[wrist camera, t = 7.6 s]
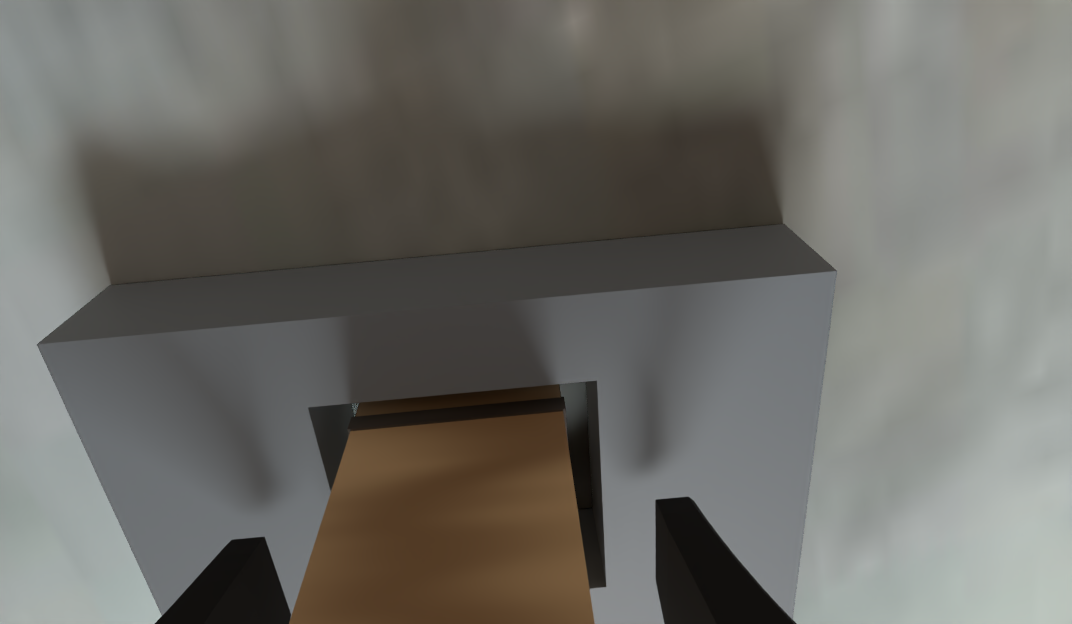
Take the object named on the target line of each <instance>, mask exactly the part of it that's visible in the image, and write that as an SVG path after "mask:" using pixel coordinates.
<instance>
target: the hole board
mask: <svg viewBox="0 0 1072 624" xmlns="http://www.w3.org/2000/svg"><path fill="white" fill-rule="evenodd" d="M836 276H837V270H835V269H834V268H833V267H832V266H831V265H830V264H829V263H828V262H826V261H825V260H824V259H823V258H822V257H821V256H820V255H819V254H817V253H816V252H815V251H814V250H813V249H812V248H811V247H810V246H808V245H807V244H806V243H805V242H804V241H803V240H802V239H800V238H799V237H798V236H797V235H796V234H795V233H794V232H793V231H791V230H790V229H789V228H788V227H787V226H786V225H785V224H779V225H768V226H757V227H746V228H735V229H724V230H713V231H702V232H691V233H680V234H669V235H658V236H647V237H636V238H625V239H614V240H603V241H592V242H581V243H570V244H559V245H548V246H537V247H526V248H515V249H504V250H493V251H482V252H471V253H460V254H449V255H438V256H427V257H416V258H405V259H394V260H383V261H372V262H361V263H350V264H339V265H328V266H318V267H307V268H296V269H285V270H274V271H263V272H252V273H241V274H230V275H219V276H208V277H197V278H186V279H175V280H164V281H153V282H142V283H131V284H120V285H110V286H108V287H107V288H106V289H105V290H103V291H102V292H101V293H100V294H98V295H97V296H96V297H95V298H93V299H92V300H91V301H90V302H89V303H87V304H86V305H85V306H84V307H82V308H81V309H80V310H79V311H77V312H76V313H75V314H74V315H73V316H71V317H70V318H69V319H68V320H66V321H65V322H64V323H63V324H61V325H60V326H59V327H58V328H56V329H55V330H54V331H53V332H52V333H50V334H49V335H48V336H47V337H45V338H44V339H43V340H42V341H40V342H39V343H38V344H37V346H38V348H39V350H40V352H41V355H42V357H43V359H44V361H45V363H46V365H47V368H48V370H49V372H50V374H51V376H52V378H53V381H54V383H55V385H56V387H57V389H58V391H59V394H60V396H61V398H62V400H63V402H64V404H65V407H66V409H67V411H68V413H69V415H70V417H71V420H72V422H73V424H74V426H75V428H76V430H77V433H78V435H79V437H80V439H81V441H82V443H83V446H84V448H85V450H86V452H87V454H88V456H89V459H90V461H91V463H92V465H93V467H94V469H95V472H96V474H97V476H98V478H99V480H100V482H101V485H102V487H103V489H104V491H105V493H106V495H107V498H108V500H109V502H110V504H111V506H112V508H113V511H114V513H115V515H116V517H117V519H118V521H119V524H120V526H121V528H122V530H123V532H124V534H125V537H126V539H127V541H128V543H129V545H130V547H131V550H132V552H133V554H134V556H135V558H136V560H137V563H138V565H139V567H140V569H141V571H142V573H143V576H144V578H145V580H146V582H147V584H148V586H149V589H150V591H151V593H152V595H153V597H154V599H155V602H156V604H157V606H158V608H159V610H160V612H161V615H162V616H163V614H164V613H165V612H166V611H167V610H168V609H169V608H170V607H171V606H172V605H173V604H174V603H175V601H176V600H177V599H178V598H179V597H180V596H181V595H182V594H183V593H184V591H185V590H186V589H187V588H188V587H189V586H190V585H191V584H192V583H193V581H194V580H195V579H196V578H197V577H198V576H199V575H200V574H201V573H202V571H203V570H204V569H205V568H206V567H207V566H208V565H209V564H210V563H211V561H212V560H213V559H214V558H215V557H216V556H217V555H218V554H219V553H220V552H221V550H222V549H223V548H224V547H225V546H226V545H227V544H228V543H229V542H230V541H231V540H233V539H244V538H254V537H265V539H266V542H267V545H268V548H269V551H270V554H271V557H272V560H273V563H274V566H275V569H276V571H277V574H278V577H279V580H280V583H281V586H282V589H283V592H284V595H285V598H286V601H287V604H288V607H289V610H290V613H291V616H292V612H293V609H294V606H295V603H296V600H297V597H298V594H299V591H300V587H301V584H302V581H303V578H304V575H305V572H306V569H307V566H308V562H309V559H310V556H311V553H312V550H313V547H314V544H315V540H316V537H317V534H318V531H319V528H320V525H321V522H322V519H323V515H324V512H325V509H326V506H327V503H328V500H329V497H330V493H331V490H332V487H333V484H334V481H335V478H336V475H337V472H338V468H339V465H340V462H341V459H342V456H343V453H344V450H345V447H346V443H347V440H348V437H349V435H348V431H347V428H348V425H349V422H350V419H351V417H354V415H353V411H352V407H351V403H361V402H372V401H383V400H394V399H404V398H415V397H426V396H437V395H447V394H458V393H469V392H480V391H490V390H501V389H512V388H523V387H533V386H544V385H555V384H566V383H576V382H586V396H587V414H588V433H589V451H590V470H591V488H592V507H593V508H590V509H579V510H578V515H579V522H580V528H581V535H582V542H583V548H584V555H585V562H586V569H587V575H588V582H589V589H590V596H591V602H592V609H593V616H594V622H595V624H665V623H664V619H663V614H662V609H661V604H660V599H659V595H658V590H657V585H656V527H655V500H657V499H667V498H678V497H690V498H691V499H692V500H694V501H695V503H696V504H697V506H698V507H699V509H700V510H701V512H702V513H703V514H704V516H705V517H706V519H707V520H708V521H709V523H710V524H711V525H712V527H713V528H714V529H715V531H716V532H717V533H718V535H719V536H720V537H721V539H722V540H723V541H724V542H725V544H726V545H727V546H728V547H729V549H730V550H731V551H732V552H733V554H734V555H735V556H736V557H737V559H738V560H739V561H740V562H741V563H742V565H743V566H744V567H745V568H746V569H747V570H748V571H749V573H750V574H751V575H752V576H753V577H754V578H755V580H756V581H757V582H758V583H759V584H760V585H761V586H762V588H763V589H764V590H765V591H766V592H767V593H768V594H769V595H770V596H771V598H772V599H773V600H774V601H775V602H776V603H777V604H778V605H779V606H780V607H781V608H782V609H783V610H784V611H785V612H786V613H787V614H788V616H789V617H790V618H791V619H792V620H793V612H794V604H795V597H796V589H797V581H798V573H799V565H800V557H801V550H802V542H803V534H804V526H805V518H806V510H807V503H808V495H809V487H810V479H811V471H812V463H813V456H814V448H815V440H816V432H817V424H818V416H819V409H820V401H821V393H822V385H823V377H824V369H825V362H826V354H827V346H828V338H829V330H830V322H831V315H832V307H833V299H834V291H835V283H836ZM290 619H291V618H290Z"/></svg>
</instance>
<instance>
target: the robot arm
mask: <svg viewBox="0 0 1072 624" xmlns="http://www.w3.org/2000/svg"><path fill="white" fill-rule="evenodd" d="M655 527H656V585H657V590H658V595H659V599H660V604H661V609H662V614H663V619H664V623H665V624H796V623H795V622H794V621H793V620H792V619H791V618H790V617H789V616H788V614H787V613H786V612H785V611H784V610H783V609H782V608H781V607H780V606H779V605H778V604H777V603H776V602H775V601H774V600H773V599H772V598H771V596H770V595H769V594H768V593H767V592H766V591H765V590H764V589H763V588H762V586H761V585H760V584H759V583H758V582H757V581H756V580H755V578H754V577H753V576H752V575H751V574H750V573H749V571H748V570H747V569H746V568H745V567H744V566H743V565H742V563H741V562H740V561H739V560H738V559H737V557H736V556H735V555H734V554H733V552H732V551H731V550H730V549H729V547H728V546H727V545H726V544H725V542H724V541H723V540H722V539H721V537H720V536H719V535H718V533H717V532H716V531H715V529H714V528H713V527H712V525H711V524H710V523H709V521H708V520H707V519H706V517H705V516H704V514H703V513H702V512H701V510H700V509H699V507H698V506H697V504H696V503H695V501H694V500H692V499H691V498H690V497H678V498H667V499H657V500H655ZM290 618H291V613H290V610H289V607H288V604H287V601H286V598H285V595H284V592H283V589H282V586H281V583H280V580H279V577H278V574H277V571H276V569H275V566H274V563H273V560H272V557H271V554H270V551H269V548H268V545H267V542H266V539H265V537H254V538H244V539H233V540H231V541H230V542H229V543H228V544H227V545H226V546H225V547H224V548H223V549H222V550H221V552H220V553H219V554H218V555H217V556H216V557H215V558H214V559H213V560H212V561H211V563H210V564H209V565H208V566H207V567H206V568H205V569H204V570H203V571H202V573H201V574H200V575H199V576H198V577H197V578H196V579H195V580H194V581H193V583H192V584H191V585H190V586H189V587H188V588H187V589H186V590H185V591H184V593H183V594H182V595H181V596H180V597H179V598H178V599H177V600H176V601H175V603H174V604H173V605H172V606H171V607H170V608H169V609H168V610H167V611H166V612H165V613H164V614H163V616H162V617H161V618H160V619H159V620H158V621H157V622H156V623H155V624H289V622H290Z"/></svg>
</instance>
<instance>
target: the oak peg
mask: <svg viewBox="0 0 1072 624" xmlns="http://www.w3.org/2000/svg"><path fill="white" fill-rule="evenodd" d="M347 431H348V435H349V437H348V440H347V443H346V447H345V450H344V453H343V456H342V459H341V462H340V465H339V468H338V472H337V475H336V478H335V481H334V484H333V487H332V490H331V493H330V497H329V500H328V503H327V506H326V509H325V512H324V515H323V519H322V522H321V525H320V528H319V531H318V534H317V537H316V540H315V544H314V547H313V550H312V553H311V556H310V559H309V562H308V566H307V569H306V572H305V575H304V578H303V581H302V584H301V587H300V591H299V594H298V597H297V600H296V603H295V606H294V609H293V612H292V616H291V619H290V622H289V624H595V622H594V616H593V609H592V602H591V596H590V589H589V582H588V575H587V569H586V562H585V555H584V548H583V542H582V535H581V528H580V522H579V515H578V508H577V501H576V495H575V488H574V481H573V474H572V468H571V461H570V454H569V447H568V435H567V421H566V408H565V402H564V397H561V394H560V387H559V384H555V385H544V386H533V387H523V388H512V389H501V390H490V391H480V392H469V393H458V394H447V395H437V396H426V397H415V398H404V399H394V400H383V401H372V402H361V403H359V406H358V409H357V412H356V415H355V417H351V419H350V422H349V425H348V428H347Z"/></svg>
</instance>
